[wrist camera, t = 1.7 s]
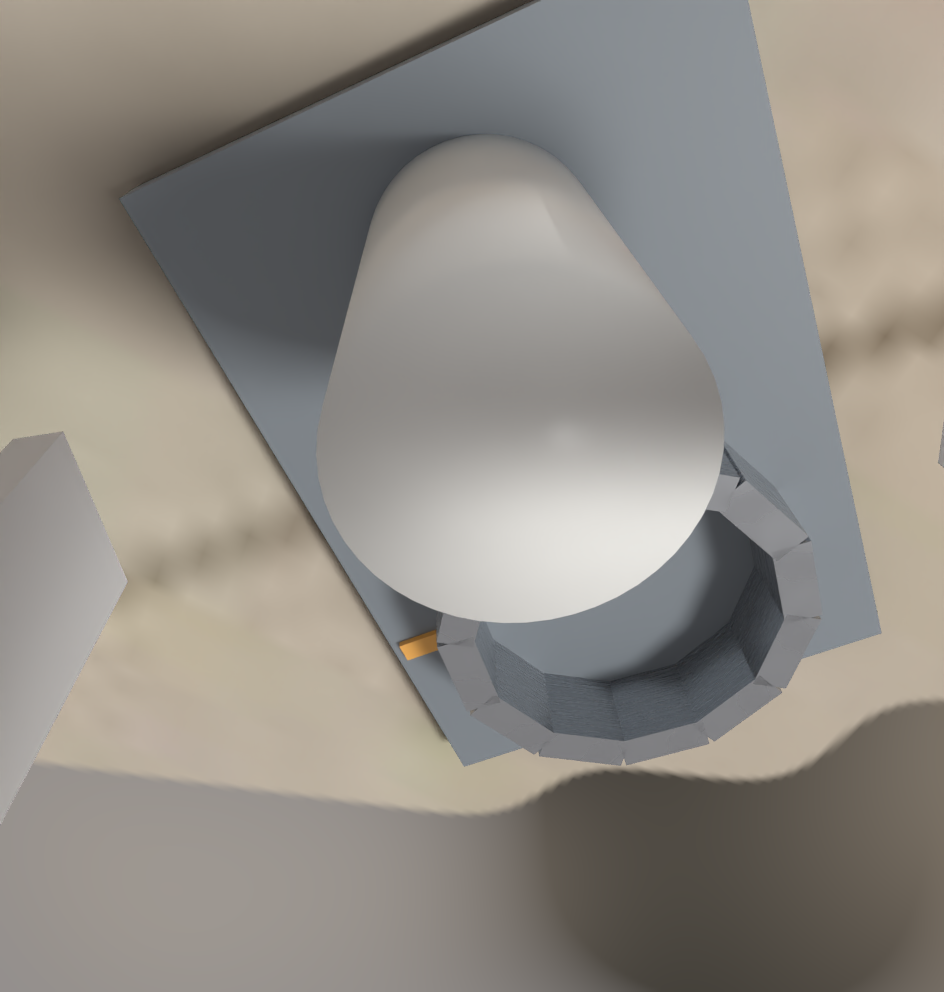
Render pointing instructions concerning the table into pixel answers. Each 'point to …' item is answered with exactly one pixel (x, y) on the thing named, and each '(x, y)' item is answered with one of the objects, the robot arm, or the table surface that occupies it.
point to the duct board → (638, 222)
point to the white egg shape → (511, 395)
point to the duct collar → (667, 690)
